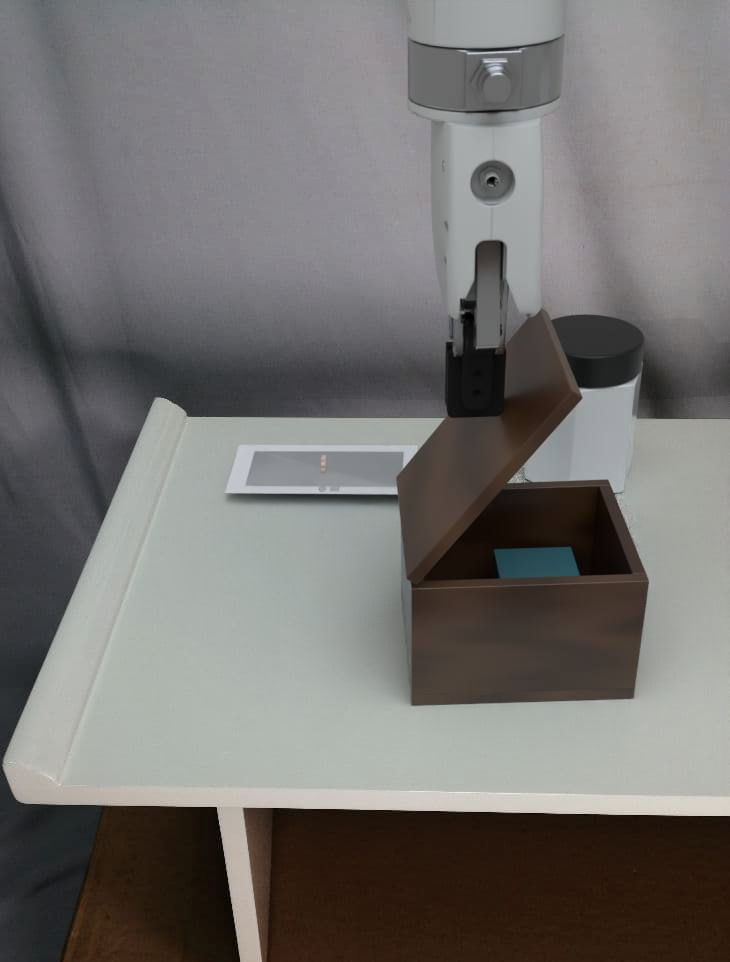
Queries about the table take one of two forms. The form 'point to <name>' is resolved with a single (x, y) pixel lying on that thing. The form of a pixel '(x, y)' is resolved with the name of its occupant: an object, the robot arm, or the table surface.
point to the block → (534, 563)
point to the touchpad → (318, 469)
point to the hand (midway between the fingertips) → (473, 410)
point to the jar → (595, 403)
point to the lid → (483, 447)
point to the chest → (530, 604)
